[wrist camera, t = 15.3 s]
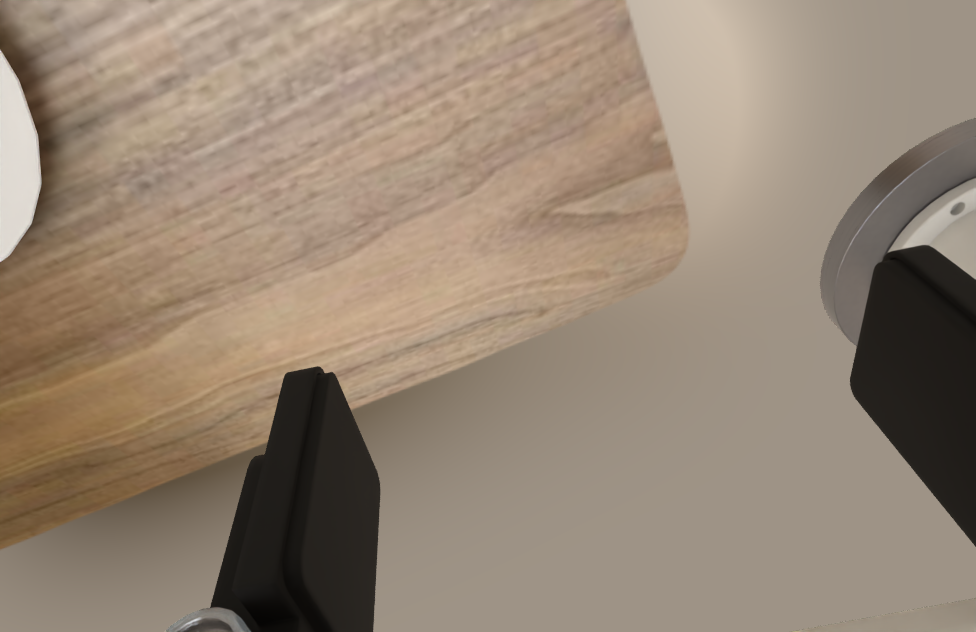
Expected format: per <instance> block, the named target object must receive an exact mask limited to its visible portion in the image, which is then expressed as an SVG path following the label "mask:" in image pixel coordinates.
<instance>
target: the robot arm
mask: <svg viewBox="0 0 976 632" xmlns="http://www.w3.org/2000/svg"><path fill="white" fill-rule="evenodd" d="M850 386H851V390H852V392H853V395H854V397H855V398H856V400H857V401H858V402H859V403H860V405H861V406H862V407H863V408H864V410H865V411H866V412H867V413H868V415H869V416H870V417H871V418H872V420H873V421H874V422H875V423H876V424H877V426H878V427H879V428H880V429H881V431H882V432H883V433H884V434H885V436H886V437H887V438H888V439H889V441H890V442H891V443H892V444H893V445H894V446H895V448H896V449H897V450H898V452H899V453H900V454H901V455H902V457H903V458H904V459H905V460H906V461H907V462H908V464H909V465H910V466H911V468H912V469H913V470H914V471H915V472H916V474H917V475H918V476H919V477H920V479H921V480H922V481H923V482H924V483H925V485H926V486H927V487H928V489H929V490H930V491H931V492H932V493H933V495H934V496H935V497H936V498H937V499H938V501H939V502H940V503H941V505H942V506H943V507H944V508H945V509H946V511H947V512H948V513H949V514H950V516H951V517H952V518H953V519H954V520H955V522H956V523H957V524H958V525H959V527H960V528H961V529H962V530H963V531H964V533H965V534H966V535H967V536H968V538H969V539H970V540H971V541H972V543H973V544H974V545H975V546H976V178H974V179H971V180H969V181H967V182H965V183H963V184H961V185H959V186H957V187H955V188H954V189H952V190H950V191H948V192H947V193H945V194H944V195H942V196H941V197H939V198H938V199H936V200H935V201H934V202H932V203H931V204H929V205H928V206H927V207H926V208H925V209H924V210H923V211H921V212H920V213H919V214H918V215H917V216H916V217H915V218H914V219H913V220H912V221H911V222H910V223H909V224H908V225H907V226H906V228H905V229H904V230H903V231H902V232H901V233H900V235H899V236H898V238H897V239H896V240H895V242H894V243H893V245H892V246H891V248H890V249H889V251H888V253H887V254H886V255H885V256H884V257H883V260H882V262H880V263H877V265H876V266H875V268H874V270H873V275H872V280H871V284H870V289H869V293H868V298H867V303H866V307H865V312H864V317H863V321H862V326H861V331H860V335H859V340H858V345H857V349H856V354H855V359H854V363H853V368H852V372H851V377H850ZM379 507H380V482H379V477H378V473H377V470H376V468H375V466H374V463H373V461H372V459H371V456H370V454H369V452H368V450H367V447H366V445H365V442H364V441H363V438H362V435H361V433H360V431H359V429H358V426H357V424H356V422H355V419H354V417H353V415H352V412H351V410H350V408H349V405H348V403H347V401H346V398H345V396H344V394H343V391H342V389H341V387H340V384H339V382H338V380H337V378H336V376H335V374H334V373H333V372H330V373H324V371H323V369H322V368H321V367H318V366H317V367H313V368H308V369H303V370H298V371H293V372H288V373H286V374H285V376H284V379H283V383H282V387H281V391H280V395H279V399H278V403H277V407H276V412H275V416H274V420H273V424H272V428H271V432H270V436H269V440H268V444H267V448H266V453H265V454H264V455H259V456H255V457H254V458H253V459H252V460H251V462H250V464H249V467H248V469H247V473H246V477H245V480H244V484H243V488H242V492H241V495H240V499H239V503H238V506H237V510H236V514H235V518H234V522H233V525H232V529H231V532H230V536H229V540H228V544H227V547H226V551H225V555H224V558H223V562H222V566H221V570H220V573H219V577H218V581H217V584H216V588H215V592H214V595H213V599H212V603H211V607H210V608H206V609H201V610H199V611H196V612H194V613H191V614H189V615H187V616H185V617H183V618H182V619H180V620H179V621H177V622H176V623H174V624H173V625H171V626H170V627H169V628H168V629H167V630H166V631H165V632H373V622H374V604H375V584H376V565H377V545H378V525H379ZM792 632H976V598H974V599H969V600H963V601H958V602H952V603H946V604H940V605H935V606H929V607H924V608H918V609H913V610H907V611H901V612H896V613H891V614H885V615H879V616H874V617H869V618H863V619H858V620H852V621H846V622H841V623H835V624H830V625H825V626H820V627H814V628H808V629H803V630H798V631H792Z"/></svg>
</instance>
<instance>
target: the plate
mask: <svg viewBox="0 0 976 632" xmlns="http://www.w3.org/2000/svg"><path fill="white" fill-rule="evenodd" d="M41 185H42V179H41V166H40V153H39V140H38V133H37V131H36V128H35V125H34V122H33V119H32V116H31V113H30V110H29V107H28V104H27V101H26V99H25V96H24V93H23V90H22V87H21V84H20V81H19V79H18V78H17V76H16V74H15V73H14V71H13V69H12V68H11V66H10V64H9V63H8V61H7V59H6V58H5V56H4V54H3V53H2V51H1V49H0V262H1V261H2V260H4V259H5V258H7V257H8V256H9V255H10V254H11V253H12V251H13V250H14V248H15V247H16V245H17V244H18V243H19V241H20V240H21V238H22V237H23V236H24V234H25V233H26V231H27V230H28V228H29V227H30V226H31V224H32V221H33V217H34V213H35V209H36V205H37V201H38V197H39V193H40V189H41Z"/></svg>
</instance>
